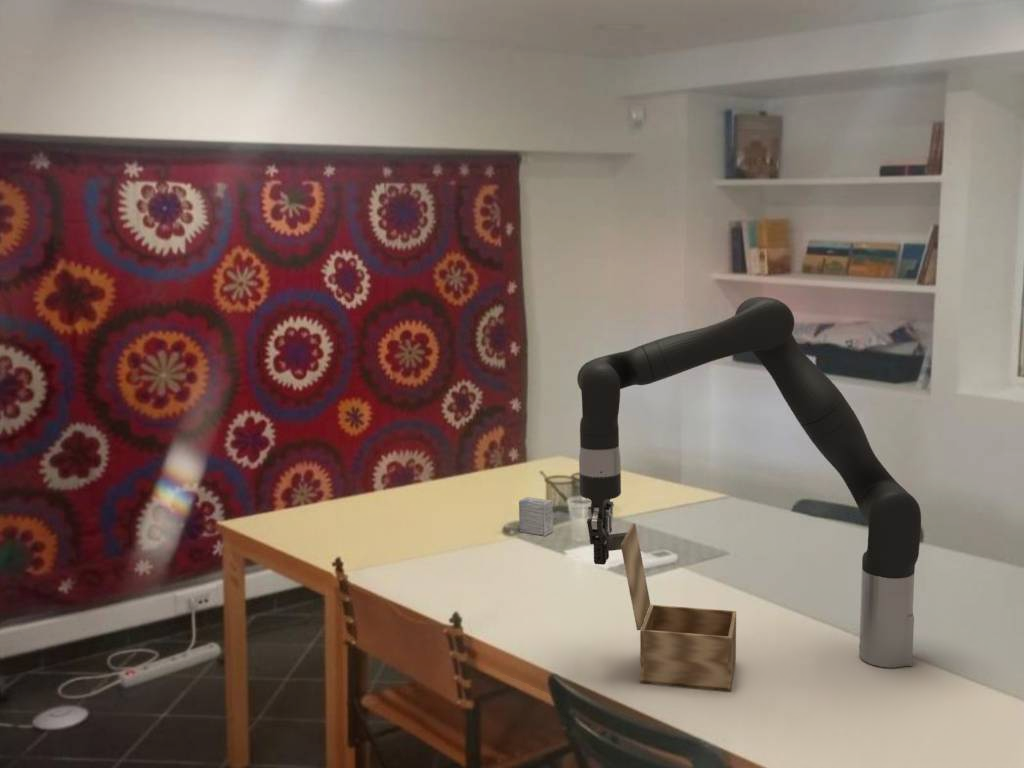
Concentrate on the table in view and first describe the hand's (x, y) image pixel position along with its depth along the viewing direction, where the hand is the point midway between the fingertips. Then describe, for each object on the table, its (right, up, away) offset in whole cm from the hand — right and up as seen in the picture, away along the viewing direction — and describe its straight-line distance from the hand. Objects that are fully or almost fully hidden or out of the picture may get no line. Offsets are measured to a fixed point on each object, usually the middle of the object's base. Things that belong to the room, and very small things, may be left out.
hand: (601, 561), depth 204 cm
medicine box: (-10, -6, +86) cm, 87 cm away
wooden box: (+16, -20, -1) cm, 26 cm away
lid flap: (+7, -2, -1) cm, 7 cm away
